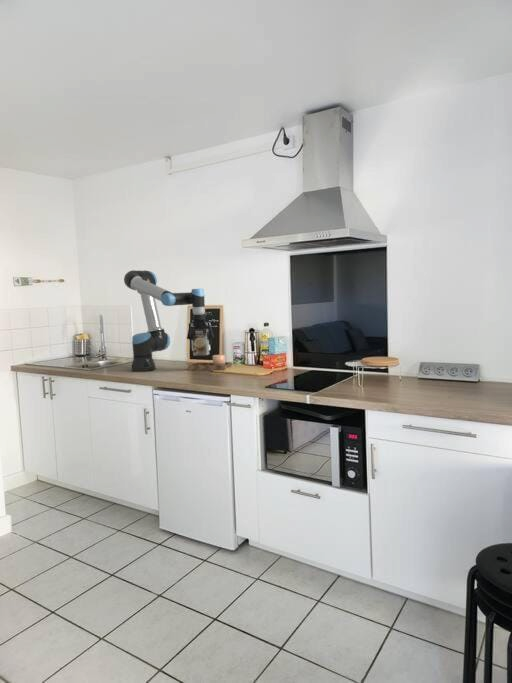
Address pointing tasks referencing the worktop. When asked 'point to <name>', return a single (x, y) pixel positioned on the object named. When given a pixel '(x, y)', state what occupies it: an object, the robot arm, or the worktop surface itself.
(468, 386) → the worktop surface
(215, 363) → the light brown rounded block
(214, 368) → the caddy
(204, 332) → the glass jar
